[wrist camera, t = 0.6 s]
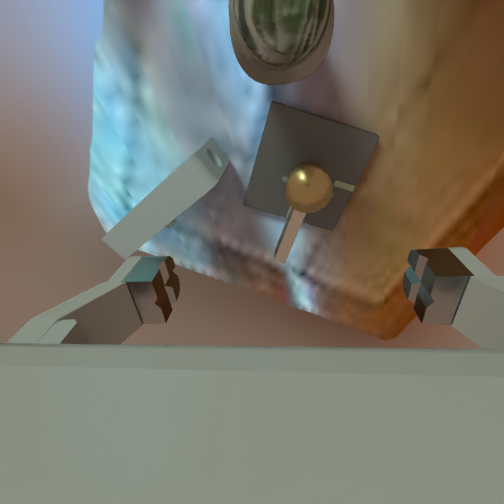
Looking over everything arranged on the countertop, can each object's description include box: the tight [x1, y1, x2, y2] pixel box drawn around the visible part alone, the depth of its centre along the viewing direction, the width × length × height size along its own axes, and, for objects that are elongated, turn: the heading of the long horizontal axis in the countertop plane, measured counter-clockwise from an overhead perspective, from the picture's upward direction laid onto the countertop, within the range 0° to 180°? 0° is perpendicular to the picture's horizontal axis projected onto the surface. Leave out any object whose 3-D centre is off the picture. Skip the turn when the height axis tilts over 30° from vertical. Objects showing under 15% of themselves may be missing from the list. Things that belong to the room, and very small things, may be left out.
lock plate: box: [243, 101, 379, 231], centre depth 49 cm, size 18×18×6 cm
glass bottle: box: [229, 0, 334, 85], centre depth 30 cm, size 10×10×28 cm
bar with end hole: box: [101, 138, 230, 259], centre depth 50 cm, size 23×6×13 cm, turn 129°
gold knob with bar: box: [274, 161, 335, 263], centre depth 47 cm, size 18×9×4 cm, turn 165°
